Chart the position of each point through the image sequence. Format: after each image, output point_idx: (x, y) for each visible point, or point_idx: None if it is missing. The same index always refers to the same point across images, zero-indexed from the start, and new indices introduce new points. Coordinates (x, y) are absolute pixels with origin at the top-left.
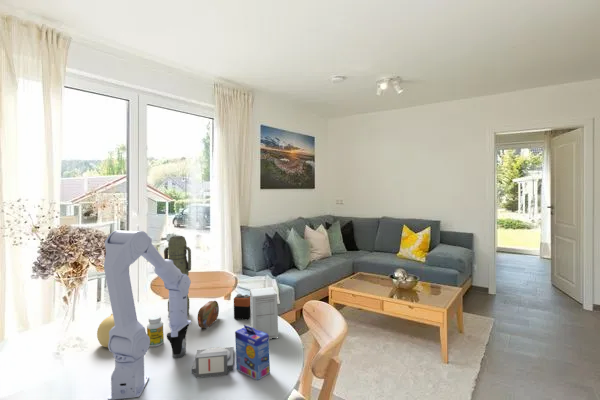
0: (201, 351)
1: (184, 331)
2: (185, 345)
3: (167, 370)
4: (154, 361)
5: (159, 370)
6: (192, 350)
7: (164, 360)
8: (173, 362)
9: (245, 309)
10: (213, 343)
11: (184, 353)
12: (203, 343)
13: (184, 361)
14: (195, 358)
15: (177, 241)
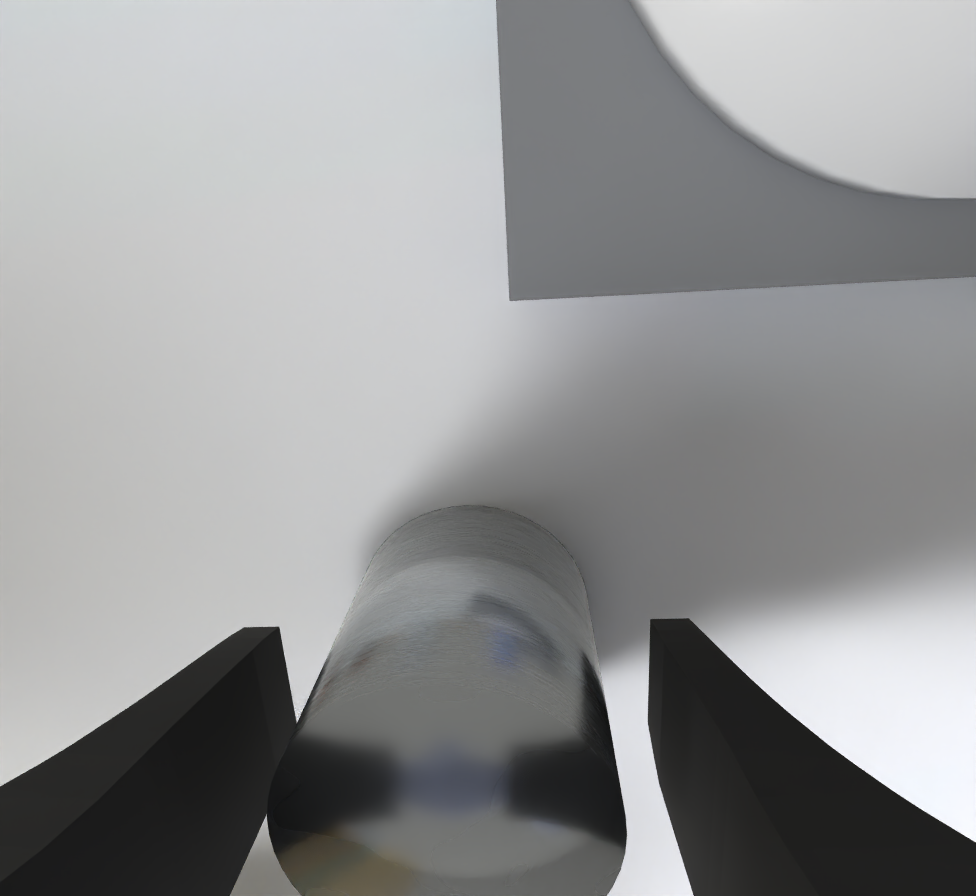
0: (600, 180)
1: (94, 870)
2: (478, 601)
3: (972, 676)
4: (630, 881)
5: (928, 776)
6: (328, 420)
7: (629, 773)
8: (728, 644)
9: None
10: (3, 3)
11: (531, 539)
12: (26, 253)
13: (739, 481)
14: (932, 263)
15: None
